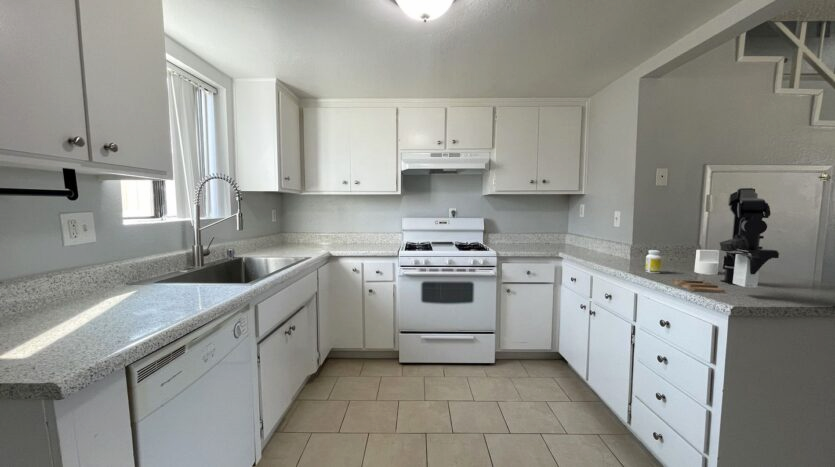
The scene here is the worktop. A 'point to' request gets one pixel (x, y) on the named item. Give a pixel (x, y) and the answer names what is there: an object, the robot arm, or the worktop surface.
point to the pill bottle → (653, 262)
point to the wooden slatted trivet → (699, 286)
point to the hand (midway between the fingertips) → (745, 272)
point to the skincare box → (744, 272)
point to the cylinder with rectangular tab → (707, 262)
